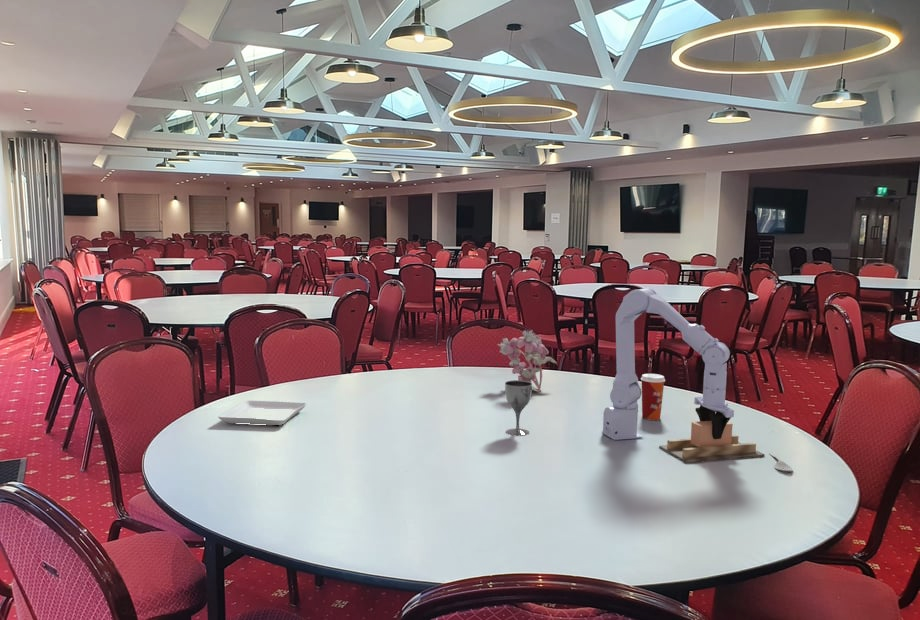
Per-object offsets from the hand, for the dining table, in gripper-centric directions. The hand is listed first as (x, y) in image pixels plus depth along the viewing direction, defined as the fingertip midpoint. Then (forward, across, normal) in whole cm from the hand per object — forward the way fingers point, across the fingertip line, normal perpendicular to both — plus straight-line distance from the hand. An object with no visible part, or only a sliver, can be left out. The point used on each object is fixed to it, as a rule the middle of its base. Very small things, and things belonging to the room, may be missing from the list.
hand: (711, 436), depth 178 cm
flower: (+5, +83, +23) cm, 86 cm away
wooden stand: (+4, 0, 0) cm, 4 cm away
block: (+2, 0, 0) cm, 2 cm away
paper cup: (+5, +34, -2) cm, 34 cm away
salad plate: (+5, +61, +120) cm, 135 cm away
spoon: (+5, -10, -13) cm, 17 cm away
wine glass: (+5, +29, +46) cm, 55 cm away
